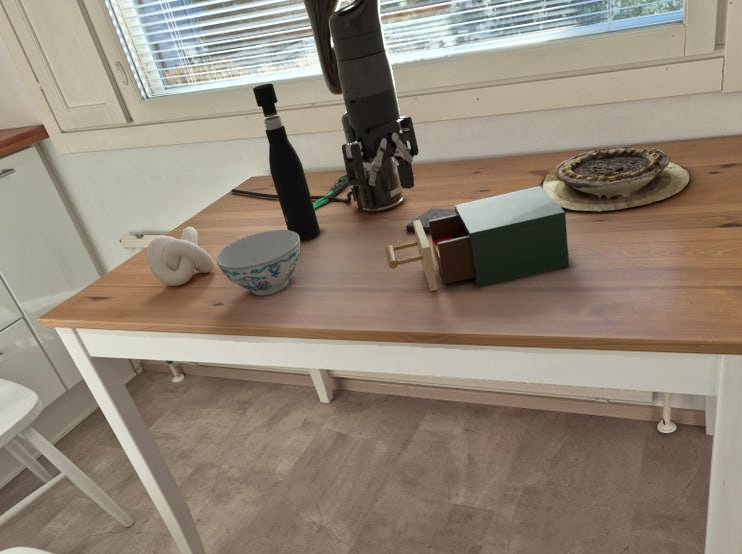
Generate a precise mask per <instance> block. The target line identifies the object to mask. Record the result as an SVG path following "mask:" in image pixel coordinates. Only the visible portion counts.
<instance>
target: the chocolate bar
mask: <svg viewBox="0 0 742 554" xmlns="http://www.w3.org/2000/svg"><path fill="white" fill-rule="evenodd" d="M455 214H456V212H455V208H434V207H431V208H429V209H428V210H426V211H424V213H422V214H421V215H418V217H416V218H414V220H412V221H411V222H409V223H408V224H406V225H405V228H406V231H409V232H415V230H414V225H413V221H416V220H420V222H421V224H422V227H423V230H424V232H425V233H430V228H429V222H428V221H429V220H433V219H437V218H442V217H446V216H451V215H455Z"/></svg>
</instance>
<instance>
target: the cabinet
mask: <svg viewBox="0 0 742 554" xmlns="http://www.w3.org/2000/svg"><path fill="white" fill-rule="evenodd" d="M454 209H455V212H456V214H458V216H459V218H460V219H461V221H462V223H463V225H464V227H465V229H466V231H467V232H468V234H469V236H470V242H471V249H472V256H473V262H474V269H475V275H476V277H473V278H472V279H473V280H474V282H475V284H476V286H477V288H481V287H482V288H483V287H485V286H490V285H491V286H492V285H495V284H498V283H499V284H500V283H503V282H507V281H513V280H517V279H521V278H526V277H530V276H534V275H538V274H543V273H549V272H552V271H558V270H561V269H566V268H570V261H569V260H570V259H569V247H568V233H567V218H566V211H565V210H564V208H563V207H560V206H559V205H558V204H557V203H556V202H555V201H554V200H553V199H552V198H551V197H550V196H549V195H548V194H547V193H546V192H545V191H544V190H543V189H542V188H541V187H540V186H539V185H537V186H533V187H529V188H525V189H519V190H516V191H511V192H507V193H503V194H502V193H501V194H498V195H493V196H489V197H485V198H480V199H476V200H472V201H466V202H463V203H458V204H454Z"/></svg>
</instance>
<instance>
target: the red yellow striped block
mask: <svg viewBox="0 0 742 554" xmlns="http://www.w3.org/2000/svg"><path fill="white" fill-rule="evenodd" d="M451 239H453V238H452V237H448V238H443V239H439V240H435V241H432V240H431V243H433V244H432V248H433V255H434V254H435V255H434V259H435V258H436V259H435V261H436V264H437V263H438V264H437V267H438V266H439V267H438V269H439V268H440V269H439V271H440V270H441V272H442V266H441V260H440V255H439V249H438V244H437V243H438V242H442V241H447V240H451ZM441 272H440V273H441ZM442 274H443V272H442ZM442 274H441V275H442Z"/></svg>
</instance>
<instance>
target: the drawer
mask: <svg viewBox="0 0 742 554" xmlns="http://www.w3.org/2000/svg"><path fill="white" fill-rule="evenodd" d="M412 221H413V225H414V230H415V231H414V235H415V240H416V241H411V242H407V243H403V244H398V245H394V246H393V245H392V244H387V245H386V246H385V249H384V251H385V254H386V259H387V265H388V267H389V268H390V269H392V270H395V269H396V268H398V266H400V265H404V264H409V263H414V262H418V261H420V264H421V266H422V269H423V272H424V276H425V279H426V282H427V284H428V288H429V290H430V292H432V291H437V290H439V287H438V283H437V276H436V273H435V272H436V271H435V266H434V261H433V255H434V256H435V254H434V253H433V255H432V250H431V246H430V243H429V241H428V238H427V235H426V232H424V230H423V227H422V224H421V222H420V220H416V221H414V220H412ZM428 222H429V228H430V232H429V233H430V238H431V243H432V241H435V240H439V239H443V238H448V237H452V238H453V239H451V240H447V241H442V242H438V243H437V244H438V249H439V255H440V260H441V266H442V272H443V274H442V272H441V270H440V268H439V266H438V263H437V262H436V264H437V267H438V269H439V271H440V274H441V277H442V279H443V282H444V284H445V285H446V284H451V283H455V282H460V281H464V280H468V279H474V278H473V277H476V275H475V269H474V262H473V256H472V249H471V242H470V236H469V234H468V232H467V231H466V229H465V227H464V225H463V223H462V221H461V219H460V218H459V216H458V214H455V215H451V216H446V217H442V218H437V219H433V220H429V221H428ZM432 245H433V243H432ZM413 247H417V250H418V255H414V256H410V257H406V258H400V259H397V255H396V251H399V250H404V249H409V248H413ZM434 259H435V260H436V258H435V257H434Z"/></svg>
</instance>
